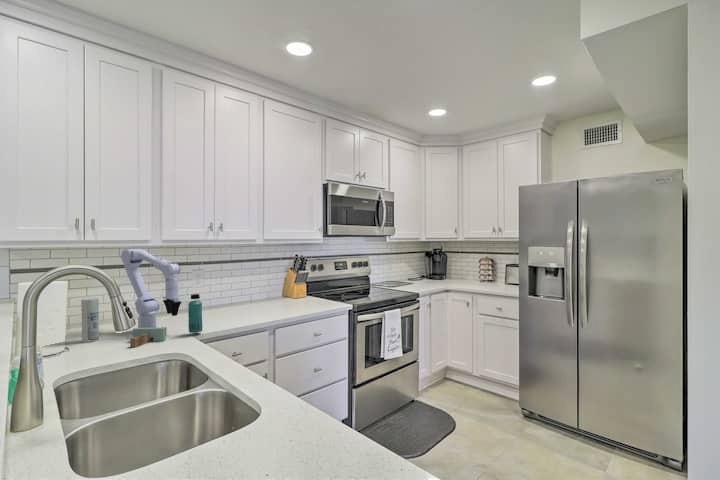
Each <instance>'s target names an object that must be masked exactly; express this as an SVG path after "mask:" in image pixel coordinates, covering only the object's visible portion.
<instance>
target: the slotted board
mask: <svg viewBox="0 0 720 480" xmlns="http://www.w3.org/2000/svg"><path fill="white" fill-rule="evenodd" d="M162 327H163V326H162ZM162 327H160V328H162ZM166 336H167V332H166ZM129 340H130V344H129V346H130V348H132V349H133V348H138V347H141V346H143V345H145V344H148V343H150V342H154V337H148V334H141V335H138V336H136V337H133V336H132V337H131V338H130V339H129Z"/></svg>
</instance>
